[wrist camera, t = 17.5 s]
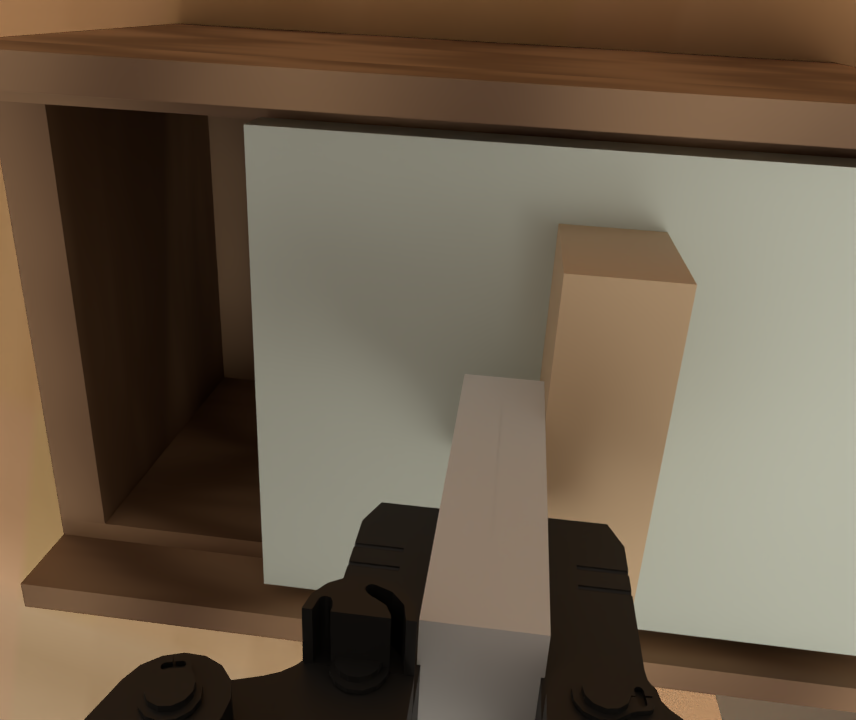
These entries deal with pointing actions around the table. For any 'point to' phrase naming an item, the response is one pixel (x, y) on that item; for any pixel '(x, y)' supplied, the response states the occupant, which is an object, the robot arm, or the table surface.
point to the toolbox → (231, 285)
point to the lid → (568, 353)
